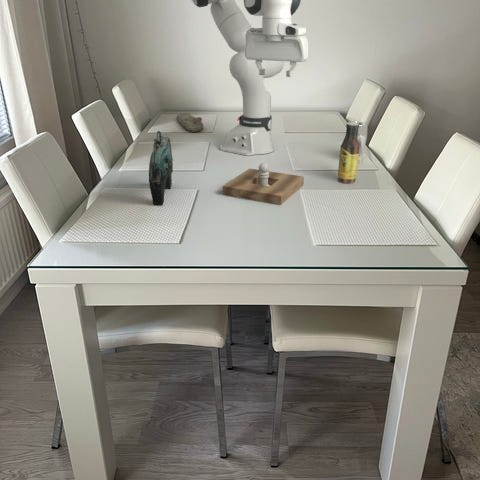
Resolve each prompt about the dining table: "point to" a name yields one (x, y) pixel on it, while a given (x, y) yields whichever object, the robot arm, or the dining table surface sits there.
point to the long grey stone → (190, 122)
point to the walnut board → (263, 187)
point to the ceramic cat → (160, 168)
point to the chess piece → (264, 174)
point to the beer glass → (362, 139)
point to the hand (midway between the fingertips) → (275, 75)
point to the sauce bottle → (349, 154)
